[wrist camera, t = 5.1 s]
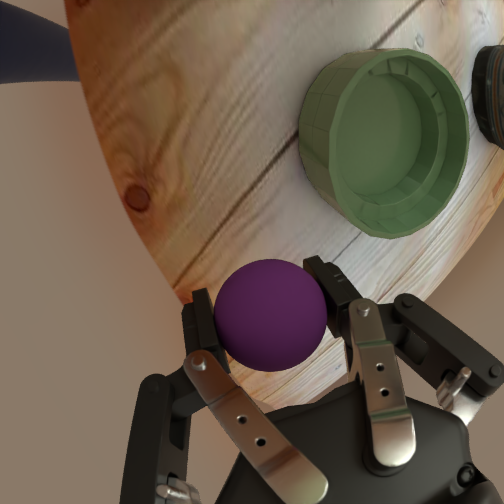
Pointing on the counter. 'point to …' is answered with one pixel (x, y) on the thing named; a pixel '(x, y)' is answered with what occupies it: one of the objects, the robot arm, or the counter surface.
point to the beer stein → (489, 93)
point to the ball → (270, 315)
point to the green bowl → (385, 139)
